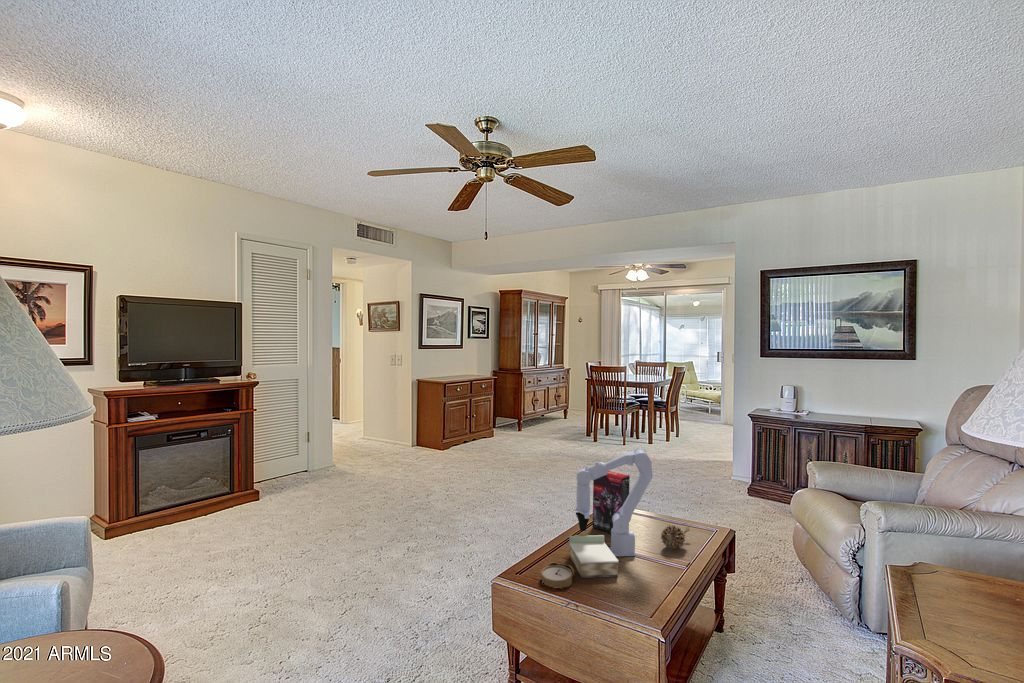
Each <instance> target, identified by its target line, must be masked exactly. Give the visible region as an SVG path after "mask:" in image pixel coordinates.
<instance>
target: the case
mask: <svg viewBox="0 0 1024 683" xmlns="http://www.w3.org/2000/svg"><path fill="white" fill-rule="evenodd" d="M569 552H570V553H569V554H570V556H569V557H570V560H571V562H572V564H573V566H574V567H575V569H576V570H577V573H578V574H579V577H580V578H581V579H583V578H585V579H586V578H589V579H590V578H617V577H619V563H591V564H581V563H580V561H579V559H578V558H577V556H576V554H575V552H574V551H573V549H572V547H571V551H569Z"/></svg>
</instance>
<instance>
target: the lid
mask: <svg viewBox="0 0 1024 683" xmlns="http://www.w3.org/2000/svg"><path fill="white" fill-rule="evenodd" d="M568 543H569V552H570V551H571V547H572V549H573V551H574V552H575V554H576V556H577V558H578V559H579V561H580V563H581V564H591V563H618V564H619V563H620V562H619V559H618V558H617V556H614V554H613V553H612V552H611V550H610V549H609V548H610V547H608V545H607V544H606V543H605V535H604V534H598V535H597V534H596V535H594V534H593V535H590V534H588V535H587V534H586V535H569V542H568Z"/></svg>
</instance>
